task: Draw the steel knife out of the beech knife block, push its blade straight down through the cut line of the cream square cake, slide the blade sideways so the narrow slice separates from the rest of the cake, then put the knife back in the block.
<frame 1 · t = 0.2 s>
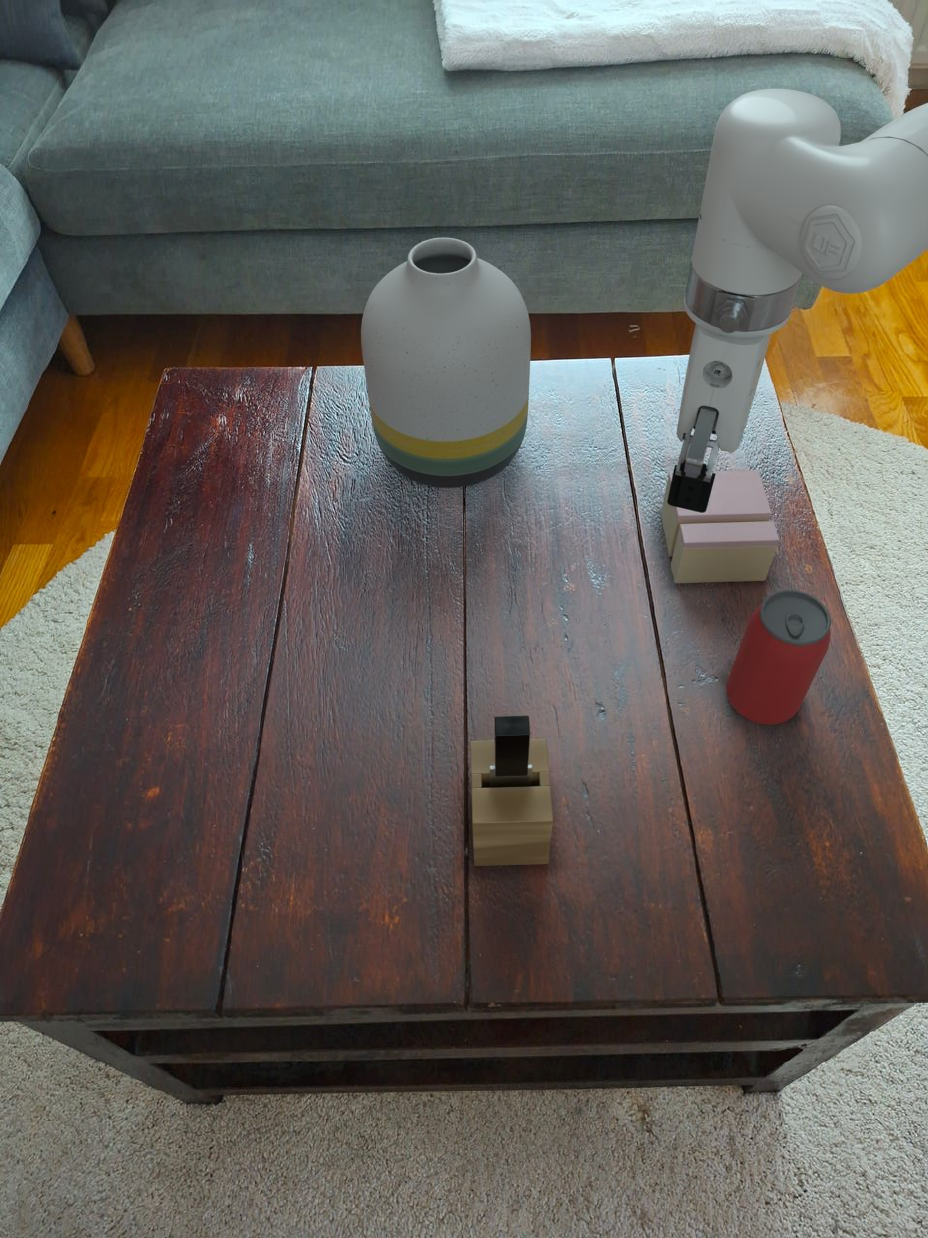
hand: (698, 467, 79), 16 cm above the table, tool pointing down, fingers open, 9 cm apart
knife: (510, 779, 71), in the knife block
cake slice: (717, 572, 94), on the table
knife block: (509, 825, 78), on the table
vase: (451, 452, 105), on the table
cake: (708, 533, 97), on the table
beer can: (761, 698, 85), on the table
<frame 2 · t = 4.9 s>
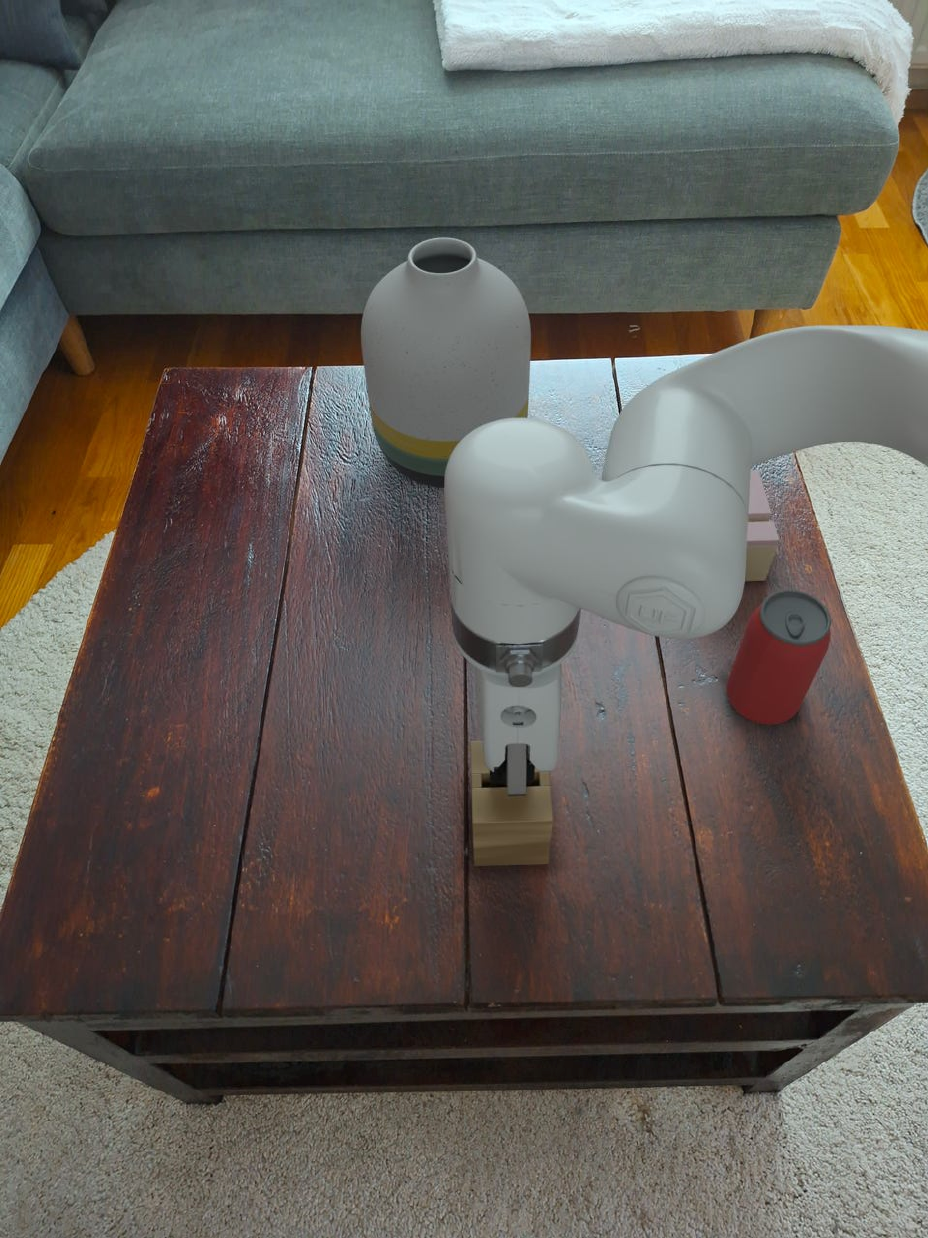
hand: (511, 763, 69), 11 cm above the table, tool pointing down, fingers closed on knife, 1 cm apart
knife: (510, 779, 71), in the knife block, touching gripper
everything else where it was.
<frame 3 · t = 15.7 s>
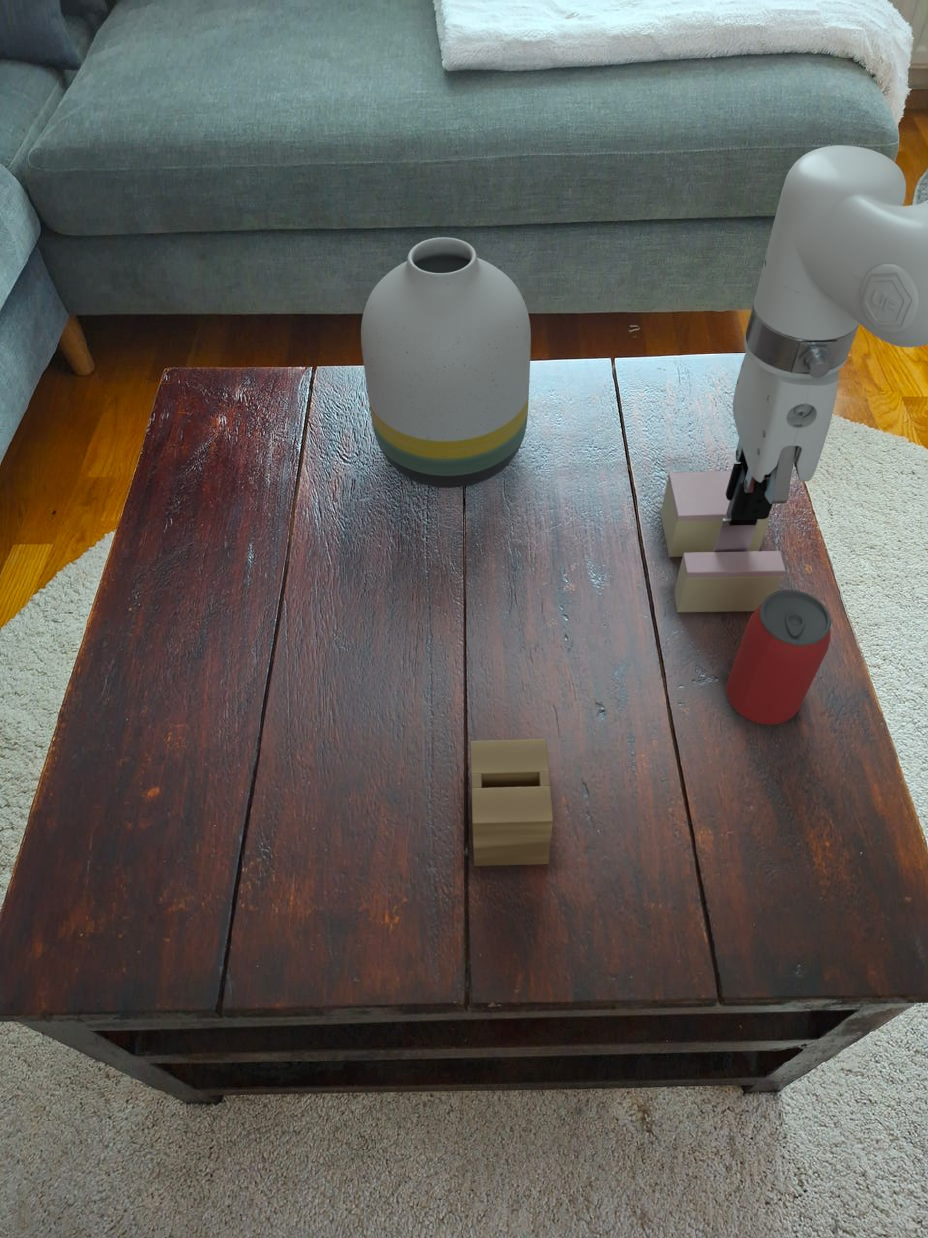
hand: (746, 506, 83), 12 cm above the table, tool pointing down, fingers closed on knife, 1 cm apart
knife: (735, 534, 86), on the table, touching gripper
cake slice: (721, 601, 91), on the table
everything else where it was.
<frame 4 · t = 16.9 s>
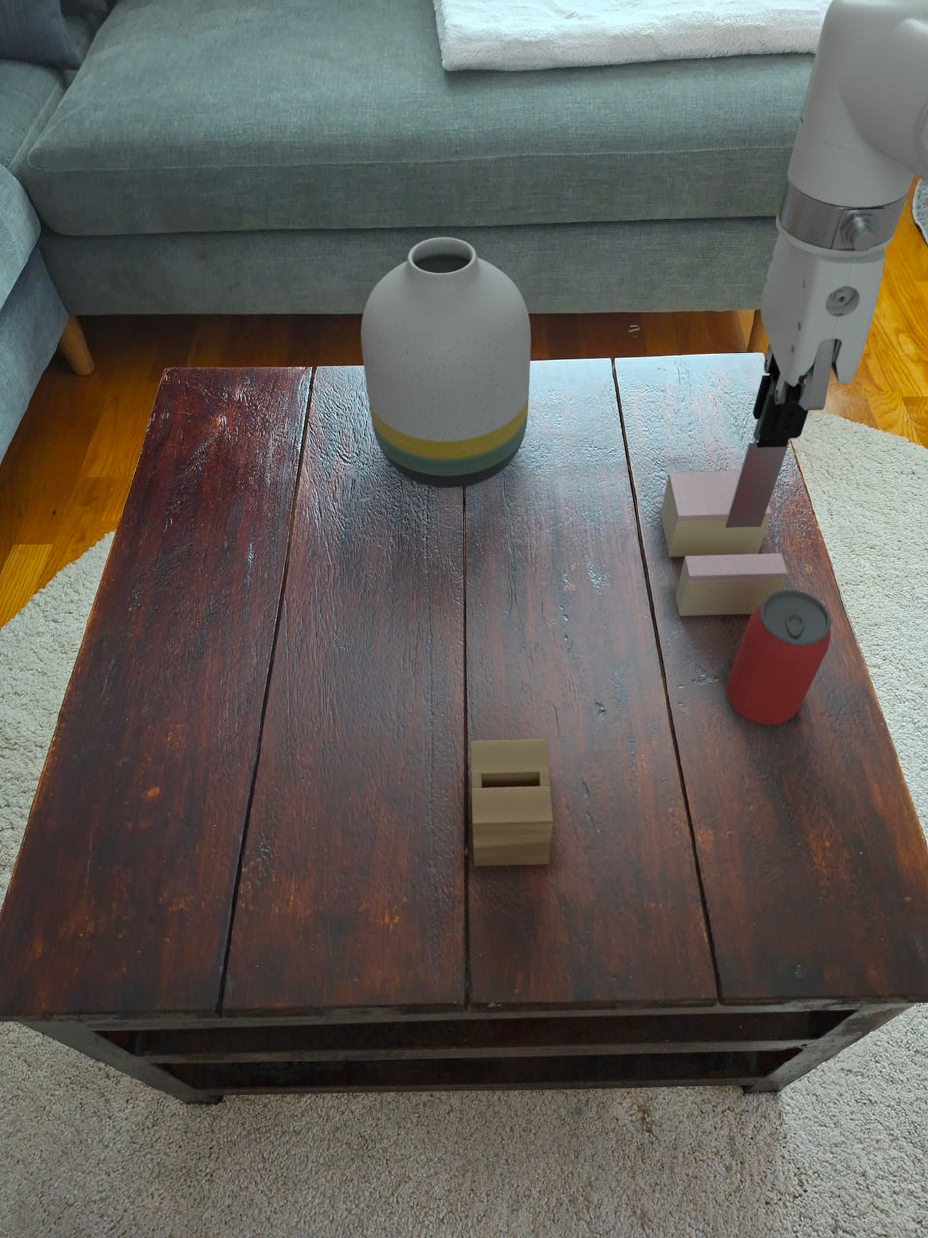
hand: (775, 425, 75), 21 cm above the table, tool pointing down, fingers closed on knife
knife: (763, 459, 78), point 18 cm above the table, touching gripper
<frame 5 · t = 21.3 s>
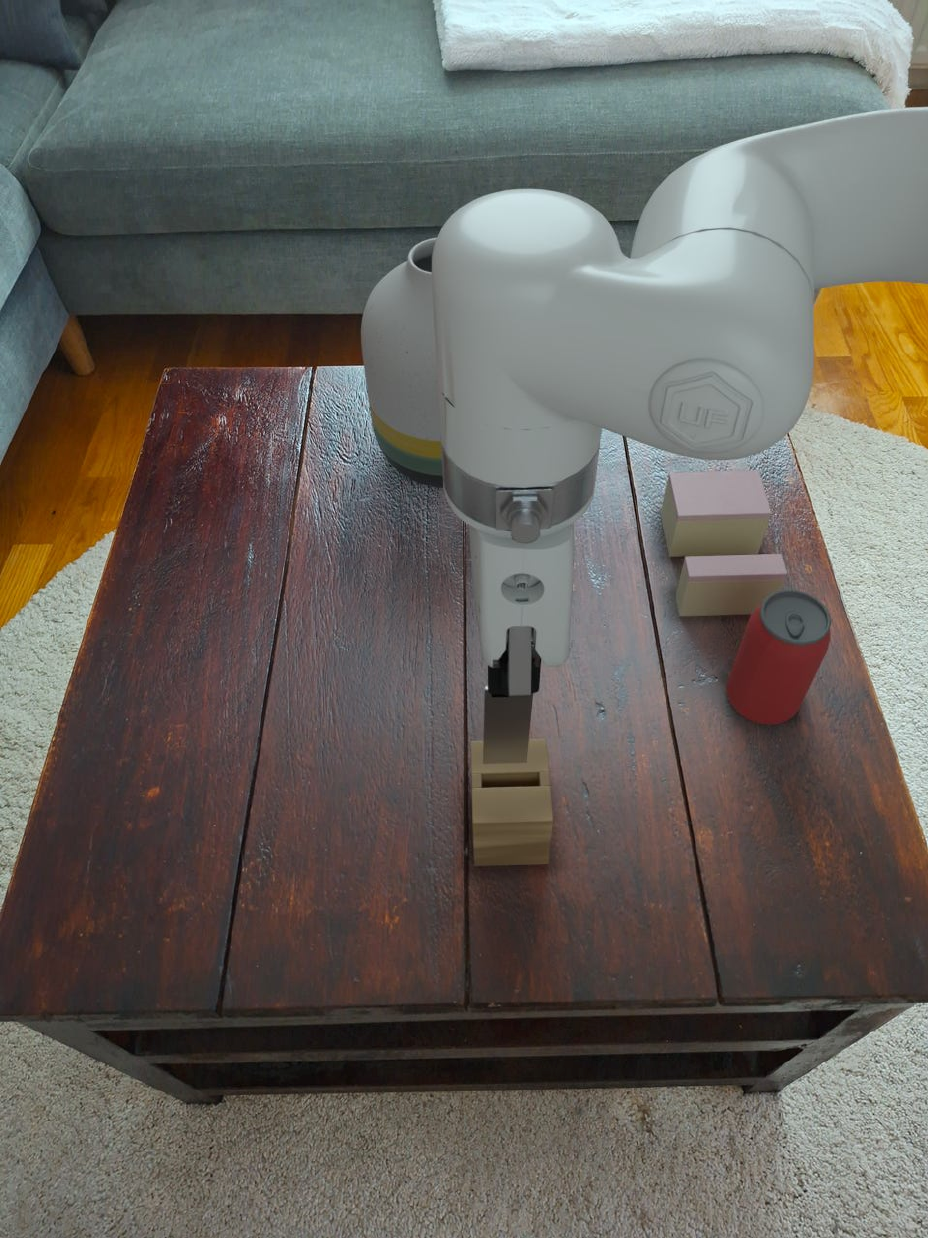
hand: (512, 673, 60), 22 cm above the table, tool pointing down, fingers closed on knife
knife: (508, 703, 63), point 19 cm above the table, touching gripper
everything else where it was.
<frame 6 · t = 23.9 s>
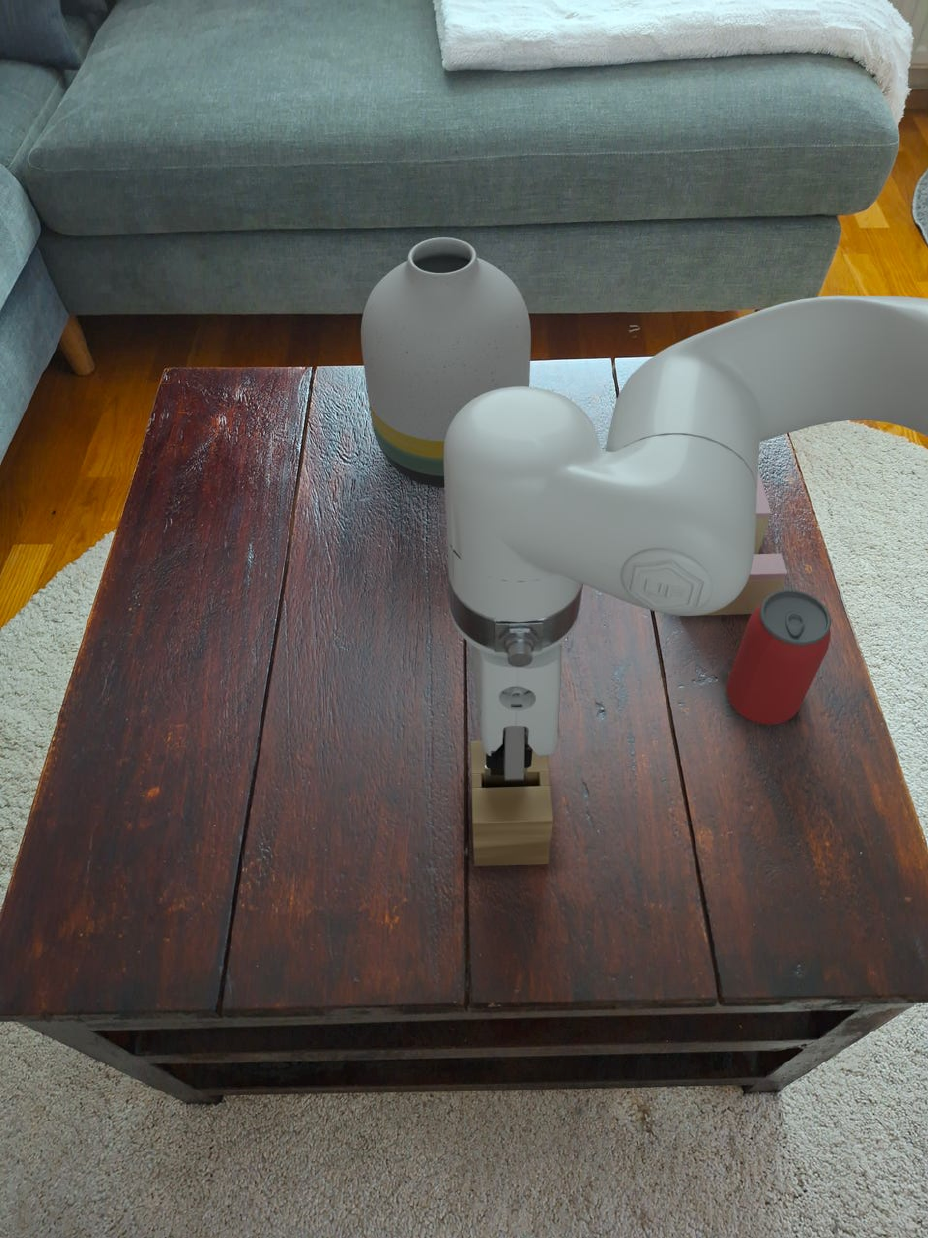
hand: (507, 749, 68), 12 cm above the table, tool pointing down, fingers closed on knife, 1 cm apart
knife: (505, 778, 71), in the knife block, touching gripper
everything else where it was.
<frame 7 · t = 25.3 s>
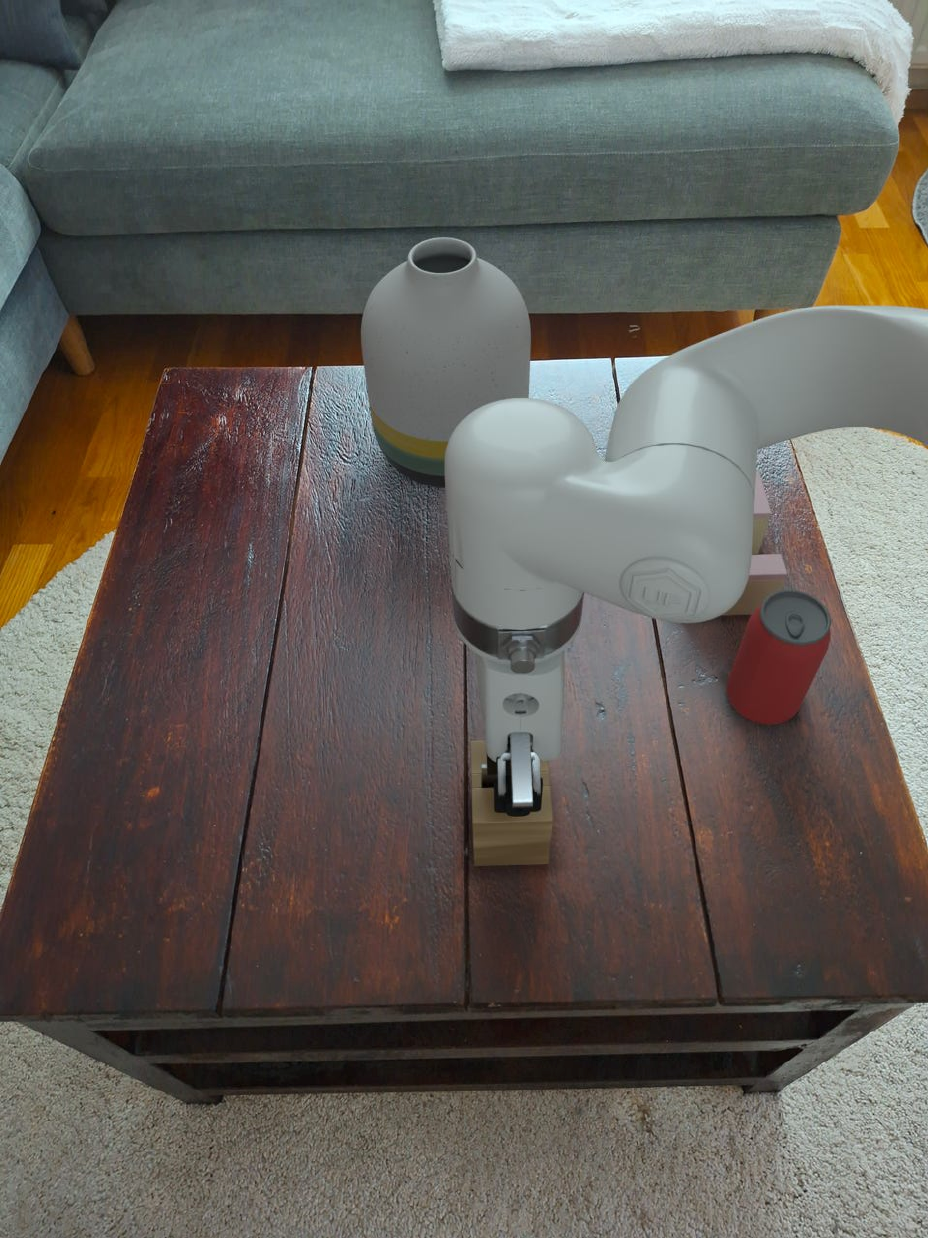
hand: (513, 746, 67), 13 cm above the table, tool pointing down, fingers open, 9 cm apart
knife: (502, 778, 71), in the knife block
everything else where it was.
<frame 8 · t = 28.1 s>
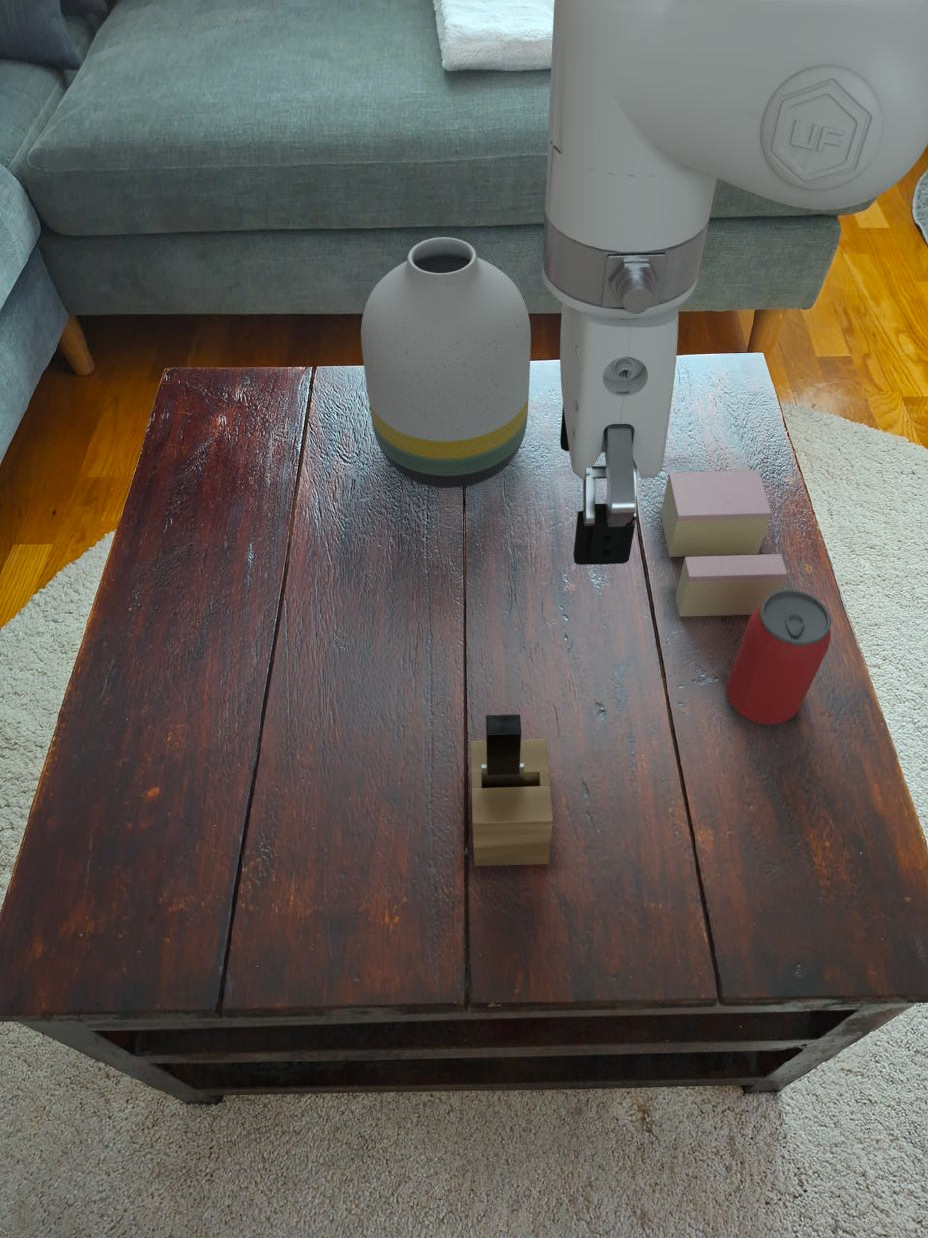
hand: (592, 501, 58), 30 cm above the table, tool pointing down, fingers open, 9 cm apart
nothing on the table moved.
at the end: cake slice moved 4.1 cm from its start; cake moved 0.0 cm from its start; knife 0.6 cm off-centre on the knife block, point 8.0 cm above the knife block's base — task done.
